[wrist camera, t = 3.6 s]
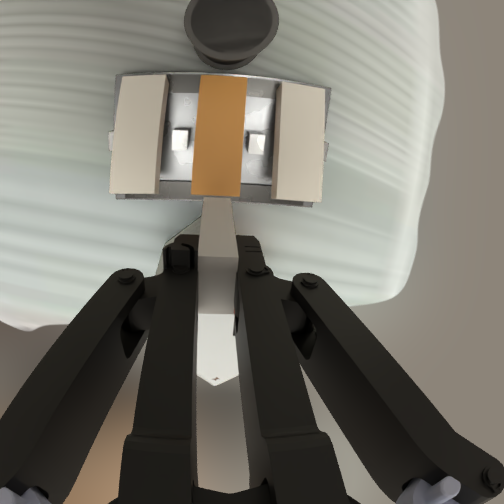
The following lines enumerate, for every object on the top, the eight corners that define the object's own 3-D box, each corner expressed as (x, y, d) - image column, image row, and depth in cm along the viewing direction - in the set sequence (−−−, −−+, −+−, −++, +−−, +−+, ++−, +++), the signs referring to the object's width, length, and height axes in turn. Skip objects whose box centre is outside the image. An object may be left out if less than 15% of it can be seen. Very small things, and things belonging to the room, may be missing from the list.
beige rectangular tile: (276, 90, 22) (282, 81, 20) (316, 96, 22) (325, 89, 20) (270, 198, 23) (276, 198, 21) (312, 202, 24) (321, 202, 22)
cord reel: (197, 9, 19) (190, -21, 12) (264, 14, 20) (283, -14, 13) (190, 68, 22) (179, 58, 15) (257, 72, 23) (273, 64, 16)
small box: (258, 262, 32) (280, 356, 21) (212, 292, 34) (214, 389, 23) (210, 206, 29) (208, 288, 18) (162, 243, 30) (137, 334, 19)
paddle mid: (201, 84, 21) (201, 74, 19) (244, 86, 21) (247, 77, 19) (192, 194, 22) (190, 194, 20) (237, 196, 23) (239, 196, 21)
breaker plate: (122, 75, 21) (109, 74, 18) (323, 87, 24) (338, 88, 21) (122, 192, 27) (110, 205, 24) (306, 199, 29) (317, 214, 26)
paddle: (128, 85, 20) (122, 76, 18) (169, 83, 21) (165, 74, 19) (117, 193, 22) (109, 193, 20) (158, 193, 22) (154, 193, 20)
